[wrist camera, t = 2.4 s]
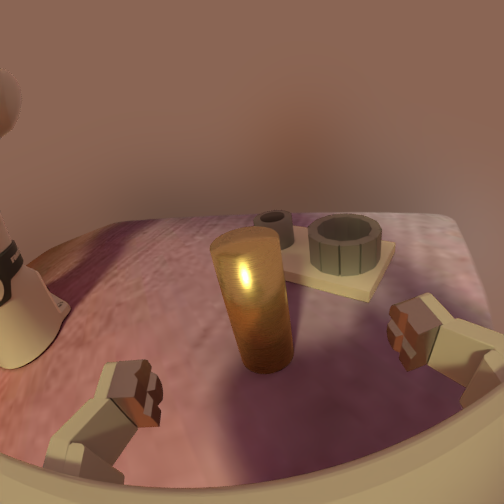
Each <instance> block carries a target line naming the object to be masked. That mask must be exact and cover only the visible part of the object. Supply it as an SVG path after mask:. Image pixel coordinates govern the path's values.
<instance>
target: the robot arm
mask: <svg viewBox="0 0 504 504" xmlns="http://www.w3.org/2000/svg"><path fill="white" fill-rule="evenodd" d="M21 103H22V96H21V89H20V86H19V83H18V81H17V80H16V78H15V77H14V76H13V75H12V74H11V73H10V72H8V71H7V70H5V69H0V139H1V138H2V137H3V136H4V135H6V134H7V133H8V132H10V131H11V130H12V129H13V128H14V126H15V124H16V122H17V120H18V117H19V114H20V110H21ZM70 310H71V307H70V306H69V304H68V303H67V302H65V301H64V300H62V299H60V298H58V297H57V296H55V295H54V294H52V293H50V292H49V289H48V288H47V287H46V285H45V284H44V282H43V280H42V278H41V276H40V274H39V272H38V271H35V270H34V269H31V268H28V267H27V266H25V265H24V264H23V258H22V256H21V254H20V250H19V248H18V247H17V246H16V243H15V242H14V240H11V238H10V236H9V233H8V231H7V228H6V225H5V223H4V220H3V217H2V215H1V212H0V367H3V368H6V369H14V368H18V367H21V366H23V365H25V364H27V363H29V362H31V361H32V360H34V359H35V358H36V357H38V356H39V355H40V354H41V353H42V352H43V351H44V350H45V349H46V348H47V347H48V346H49V345H50V343H51V342H52V341H53V340H54V338H55V336H56V335H57V333H58V331H59V329H60V326H61V323H62V321H63V319H64V318H65V317H66V316H67V314H68V313H69V312H70ZM389 315H390V317H391V318H392V319H391V320H390V322H389V323H388V325H387V337H388V341H389V343H390V345H391V347H392V349H393V350H395V351H397V352H399V353H400V354H399V360H400V361H401V363H402V365H403V366H404V368H405V369H406V371H407V372H409V371H411V370H414V369H416V368H419V367H421V366H423V365H426V364H427V365H428V366H430V367H431V368H433V369H435V370H437V371H438V372H440V373H442V374H443V375H445V376H447V377H448V378H450V379H452V380H454V381H455V382H457V383H459V384H460V385H462V386H464V387H466V389H465V391H464V393H463V394H462V396H461V398H460V401H459V402H460V404H461V405H462V407H463V410H461V411H459V412H458V413H456V414H454V415H453V416H451V417H449V418H448V419H446V420H444V421H442V422H440V423H439V424H437V425H435V426H433V427H431V428H429V429H427V430H425V431H423V432H421V433H419V434H417V435H415V436H413V437H411V438H409V439H406V440H404V441H402V442H400V443H397V444H395V445H393V446H390V447H388V448H386V449H383V450H381V451H378V452H375V453H373V454H370V455H367V456H364V457H362V458H359V459H356V460H353V461H350V462H347V463H344V464H340V465H337V466H334V467H330V468H326V469H323V470H319V471H315V472H311V473H307V474H303V475H298V476H293V477H289V478H283V479H278V480H272V481H266V482H260V483H252V484H244V485H235V486H223V487H206V488H161V487H144V486H133V485H124V475H123V473H121V472H120V471H118V470H117V469H115V468H114V467H112V466H113V464H114V463H115V462H116V460H117V459H118V457H119V456H120V454H121V453H122V451H123V450H124V449H125V447H126V446H127V444H128V443H129V441H130V440H131V438H132V437H133V435H134V434H135V433H136V431H137V430H138V428H145V427H160V418H161V410H160V408H159V407H158V405H159V404H160V403H161V401H162V400H163V388H162V384H161V381H160V379H159V377H158V376H157V375H156V374H154V373H153V372H151V367H152V366H151V365H150V363H149V362H148V360H131V361H119V362H107V363H106V364H105V365H104V367H103V370H102V373H101V376H100V379H99V383H98V386H97V389H96V392H95V395H94V399H89V400H88V401H87V402H86V403H85V404H84V405H83V406H82V407H81V408H80V409H79V410H78V411H77V412H76V413H75V414H74V415H73V416H72V417H71V418H70V419H69V420H68V421H67V422H66V423H65V424H64V425H63V426H62V427H61V428H60V429H59V430H58V431H57V432H56V433H55V434H54V435H53V436H52V437H51V439H50V442H49V446H48V449H47V453H46V456H45V460H44V464H43V468H42V467H39V466H36V465H32V464H29V463H27V462H24V461H21V460H18V459H15V458H13V457H10V456H8V455H5V454H3V453H0V504H504V334H501V333H498V332H495V331H493V330H490V329H487V328H484V327H482V326H479V325H476V324H473V323H471V322H468V321H465V320H462V319H460V318H457V319H454V318H453V317H452V315H451V314H450V313H449V312H448V311H447V310H446V309H445V308H444V307H443V306H442V305H441V304H440V303H439V302H438V300H437V299H436V298H435V297H434V296H433V295H432V294H430V293H428V292H427V293H425V294H422V295H419V296H417V297H414V298H411V299H408V300H406V301H403V302H400V303H397V304H394V305H392V306H391V308H390V311H389Z"/></svg>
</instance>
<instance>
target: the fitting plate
mask: <svg viewBox="0 0 504 504" xmlns="http://www.w3.org/2000/svg"><path fill="white" fill-rule="evenodd" d="M253 221H254V226H261V227H267V228H271V229H273V230H275V231H276V232H277V233H278V235H279V241H280V248H281V255H282V262H283V269H284V276H285V280H286V281H290V282H293V283H297V284H301V285H304V286H308V287H312V288H315V289H319V290H323V291H326V292H330V293H334V294H337V295H341V296H345V297H349V298H352V299H356V300H360V301H364V302H368V303H369V301H370V300H371V298H372V296H373V294H374V292H375V290H376V288H377V287H378V285H379V283H380V281H381V279H382V277H383V275H384V273H385V271H386V269H387V267H388V265H389V263H390V261H391V259H392V257H393V255H394V253H395V243H394V242H388V241H383V240H381V237H382V229H381V227H380V225H379V223H378V222H377V221H375V220H373V219H371V218H369V217H367V216H364V215H356V214H348V213H347V214H334V215H332V216H331V215H329V216H325V217H322V218H319V219H317V220H315V221H314V222H313V223H312V224H310V225H309V226H308V228H306V227H300V226H293V223H292V215H291V213H290V212H287V211H283V210H274V211H267V212H264V213H261V214H259V215H257V216H256V217H255V218H254V219H253Z"/></svg>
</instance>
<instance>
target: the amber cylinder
mask: <svg viewBox="0 0 504 504" xmlns="http://www.w3.org/2000/svg"><path fill="white" fill-rule="evenodd" d="M210 252H211V256H212V260H213V263H214V267H215V271H216V274H217V278H218V281H219V285H220V288H221V292H222V295H223V299H224V302H225V306H226V309H227V313H228V316H229V319H230V323H231V326H232V329H233V333H234V336H235V339H236V342H237V346H238V349H239V352H240V355H241V359H242V362H243V364H244V365H245V367H246V368H248V369H249V370H250V371H252V372H255V373H259V374H270V373H275V372H277V371H280V370H282V369H283V368H285V367H286V366H287V365H288V364H289V363H290V362H291V360H292V358H293V355H294V349H293V340H292V332H291V323H290V315H289V307H288V299H287V292H286V284H285V276H284V269H283V262H282V255H281V248H280V241H279V235H278V233H277V232H276V231H275V230H273V229H271V228H267V227H261V226H251V227H243V228H239V229H235V230H232V231H229V232H227V233H224V234H222V235H221V236H219V237H218V238H216V239H215V240H214V241H213V242H212V244H211V245H210Z"/></svg>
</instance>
